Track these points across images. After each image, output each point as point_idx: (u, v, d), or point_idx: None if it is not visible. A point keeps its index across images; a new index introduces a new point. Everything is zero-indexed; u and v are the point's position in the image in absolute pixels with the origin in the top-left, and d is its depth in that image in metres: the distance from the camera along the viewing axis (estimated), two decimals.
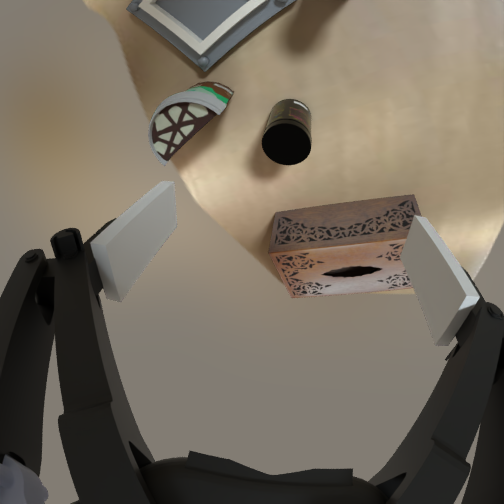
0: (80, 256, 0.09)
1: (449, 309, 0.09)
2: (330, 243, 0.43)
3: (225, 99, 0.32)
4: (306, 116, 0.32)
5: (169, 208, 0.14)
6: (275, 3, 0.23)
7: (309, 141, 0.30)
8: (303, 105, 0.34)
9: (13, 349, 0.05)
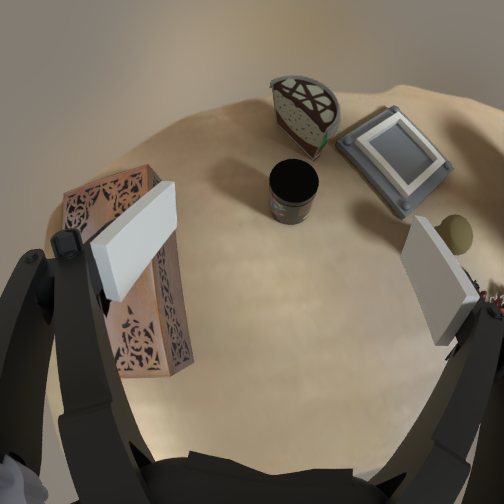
0: (80, 256, 0.09)
1: (449, 309, 0.09)
2: None
3: (321, 145, 0.37)
4: (305, 212, 0.36)
5: (169, 208, 0.14)
6: (399, 200, 0.38)
7: (300, 201, 0.32)
8: (307, 215, 0.39)
9: (13, 349, 0.05)
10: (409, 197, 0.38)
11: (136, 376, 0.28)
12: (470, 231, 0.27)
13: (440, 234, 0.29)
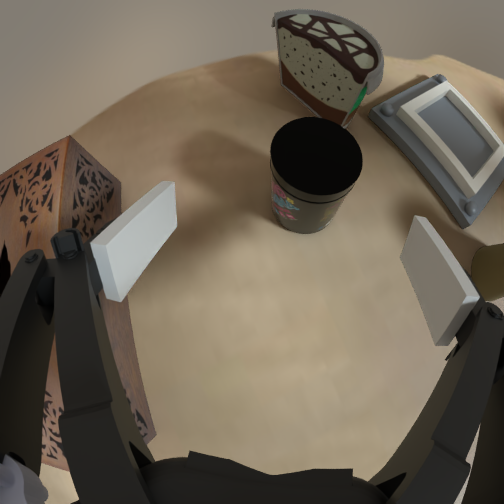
0: (80, 256, 0.09)
1: (449, 309, 0.09)
2: None
3: (354, 108, 0.22)
4: (333, 213, 0.20)
5: (169, 208, 0.14)
6: (461, 200, 0.23)
7: (330, 192, 0.16)
8: (332, 218, 0.23)
9: (13, 349, 0.05)
10: (473, 196, 0.23)
11: (63, 468, 0.12)
12: None
13: None
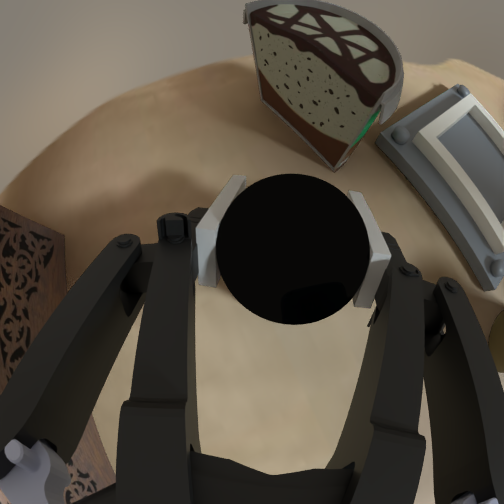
0: (186, 243, 0.10)
1: None
2: None
3: (358, 139, 0.16)
4: None
5: None
6: (488, 258, 0.17)
7: (311, 318, 0.10)
8: None
9: (80, 339, 0.06)
10: None
11: None
12: None
13: None
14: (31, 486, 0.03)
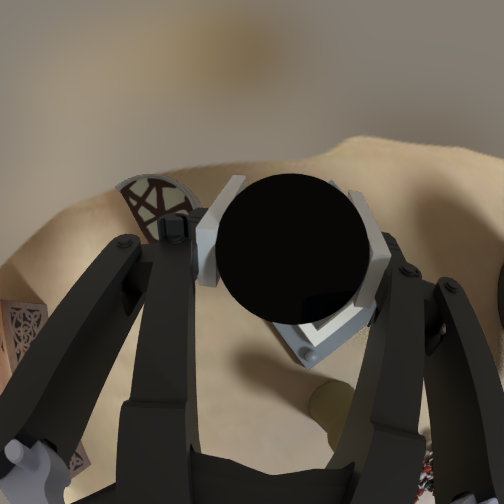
0: (186, 243, 0.10)
1: None
2: None
3: None
4: None
5: None
6: (303, 347, 0.29)
7: (311, 318, 0.10)
8: None
9: (80, 339, 0.06)
10: (320, 341, 0.29)
11: None
12: None
13: (328, 433, 0.21)
14: (31, 486, 0.03)
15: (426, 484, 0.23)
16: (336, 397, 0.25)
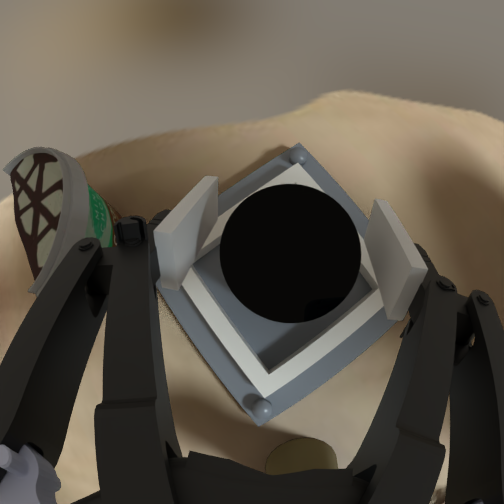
0: (143, 245, 0.09)
1: (398, 282, 0.10)
2: None
3: None
4: None
5: (214, 201, 0.15)
6: (250, 395, 0.18)
7: (307, 317, 0.11)
8: None
9: (52, 340, 0.06)
10: None
11: None
12: None
13: None
14: (24, 491, 0.02)
15: None
16: None
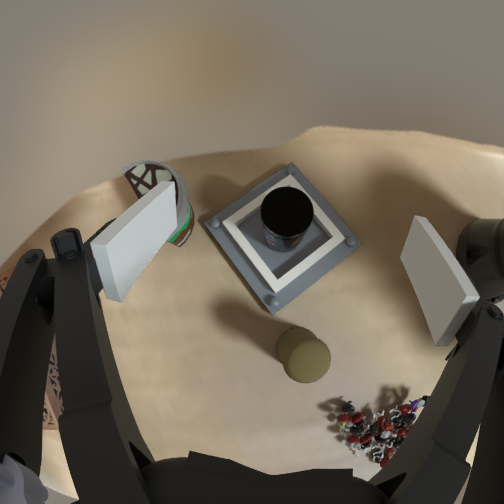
0: (80, 256, 0.09)
1: (449, 309, 0.09)
2: None
3: (172, 239, 0.36)
4: (299, 241, 0.35)
5: (169, 208, 0.14)
6: (267, 295, 0.38)
7: (293, 234, 0.30)
8: None
9: (13, 349, 0.05)
10: (282, 290, 0.38)
11: (43, 428, 0.27)
12: (323, 361, 0.27)
13: (282, 359, 0.29)
14: (15, 501, 0.02)
15: (395, 444, 0.31)
16: (294, 335, 0.33)
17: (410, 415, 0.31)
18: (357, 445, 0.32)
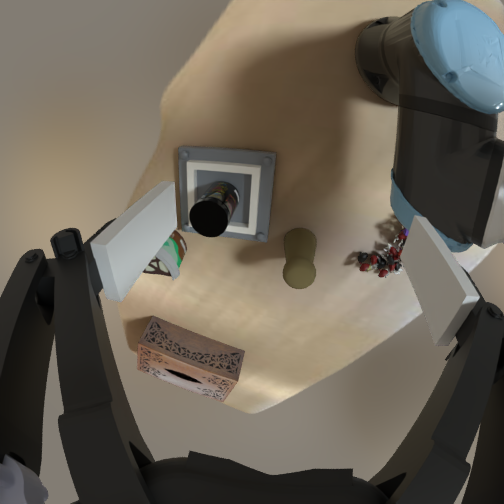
0: (80, 256, 0.09)
1: (449, 309, 0.09)
2: (177, 357, 0.63)
3: (180, 261, 0.52)
4: (235, 207, 0.43)
5: (169, 208, 0.14)
6: (253, 235, 0.51)
7: (225, 228, 0.40)
8: (238, 197, 0.45)
9: (13, 349, 0.05)
10: (258, 226, 0.49)
11: (232, 388, 0.66)
12: (306, 273, 0.42)
13: None
14: (15, 501, 0.02)
15: None
16: (286, 251, 0.48)
17: None
18: (390, 271, 0.50)
